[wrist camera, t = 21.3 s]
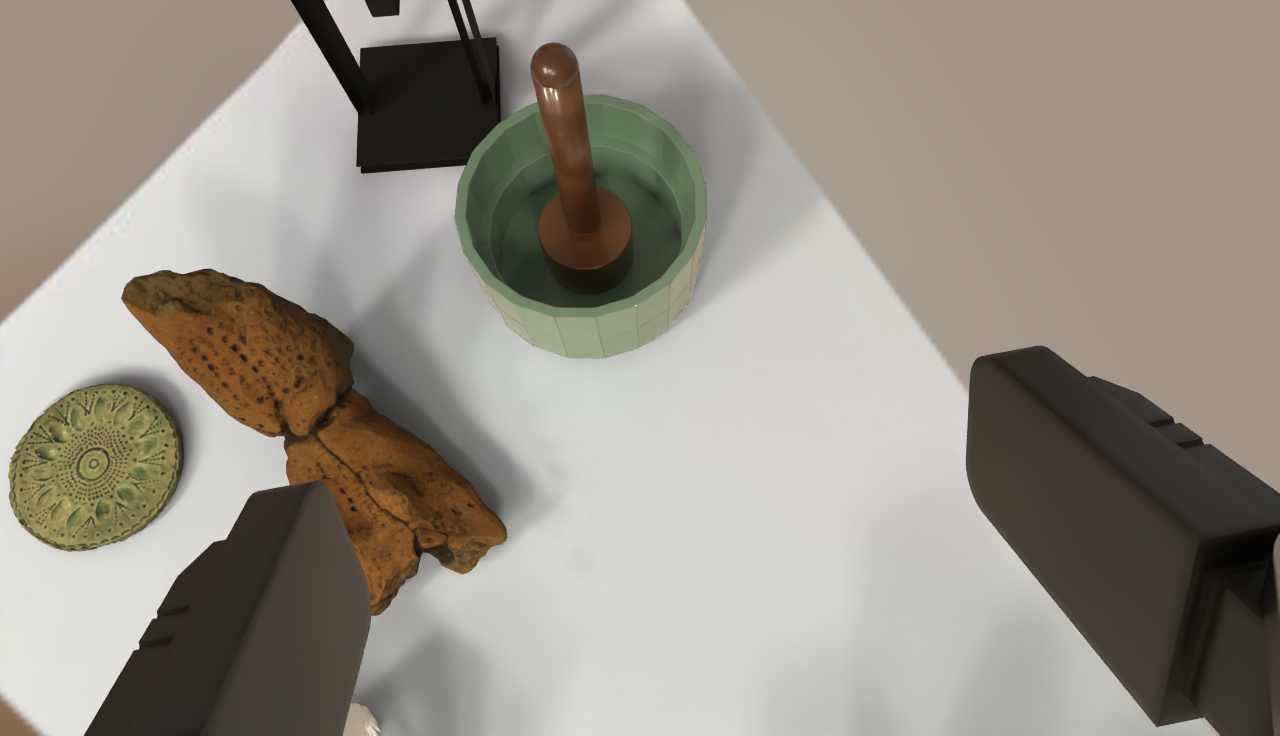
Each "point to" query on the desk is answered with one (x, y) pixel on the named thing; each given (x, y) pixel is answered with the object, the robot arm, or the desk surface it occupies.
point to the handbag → (414, 91)
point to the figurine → (360, 722)
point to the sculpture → (318, 421)
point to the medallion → (95, 467)
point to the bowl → (623, 164)
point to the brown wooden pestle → (577, 186)
